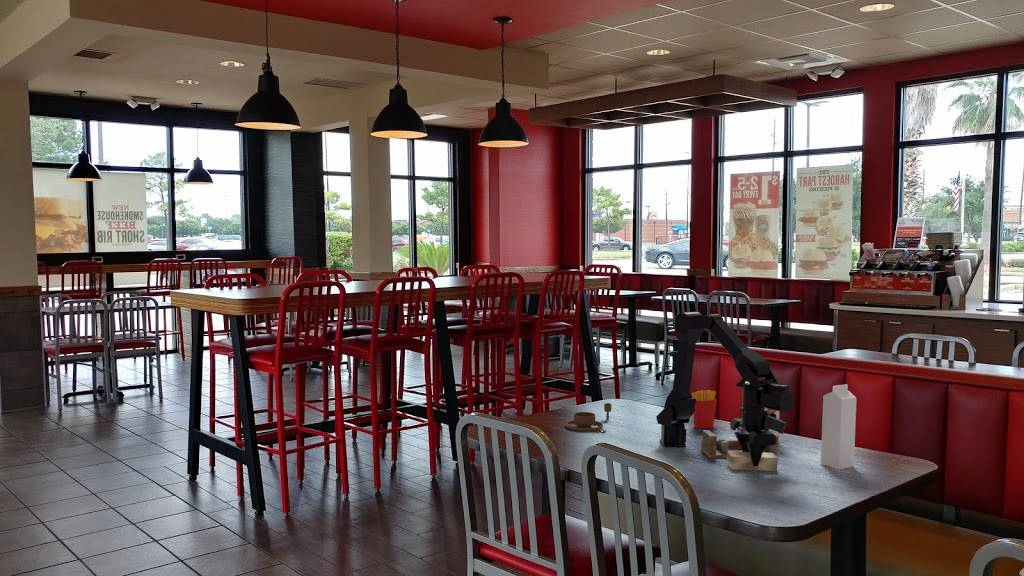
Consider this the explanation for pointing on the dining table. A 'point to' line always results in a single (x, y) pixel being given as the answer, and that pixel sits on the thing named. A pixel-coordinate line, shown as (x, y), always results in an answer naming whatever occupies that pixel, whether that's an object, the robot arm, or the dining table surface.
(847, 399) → the milk
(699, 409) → the french fries
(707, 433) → the frame
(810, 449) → the dining table surface
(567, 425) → the place setting
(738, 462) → the board
